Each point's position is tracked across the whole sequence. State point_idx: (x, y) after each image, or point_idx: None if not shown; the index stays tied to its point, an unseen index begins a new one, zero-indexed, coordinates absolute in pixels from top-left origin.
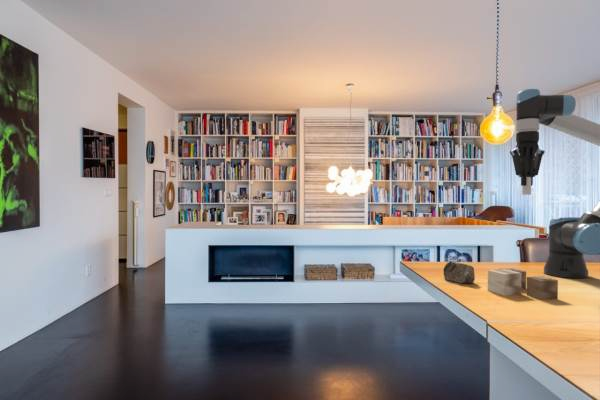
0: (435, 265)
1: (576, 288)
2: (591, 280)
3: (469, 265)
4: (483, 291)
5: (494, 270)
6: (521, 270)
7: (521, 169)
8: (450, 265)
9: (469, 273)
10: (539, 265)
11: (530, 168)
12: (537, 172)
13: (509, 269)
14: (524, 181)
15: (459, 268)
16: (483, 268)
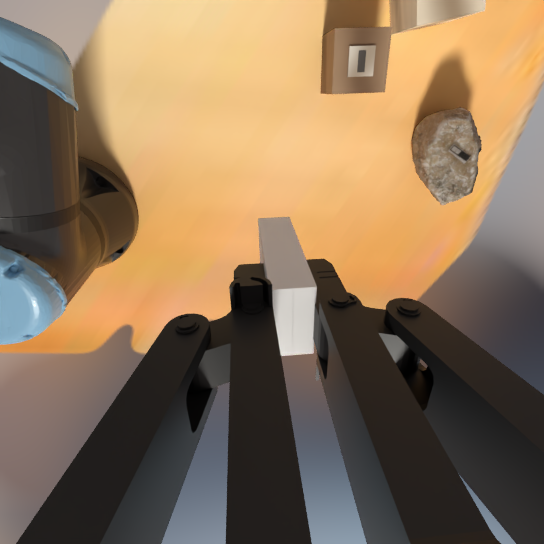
0: None
1: (166, 17)
2: None
3: (464, 119)
4: None
5: (468, 2)
6: (337, 50)
7: (437, 346)
8: (477, 169)
9: (457, 109)
10: (85, 333)
11: (282, 380)
12: (170, 340)
13: (370, 63)
14: (327, 278)
15: (476, 133)
16: None
